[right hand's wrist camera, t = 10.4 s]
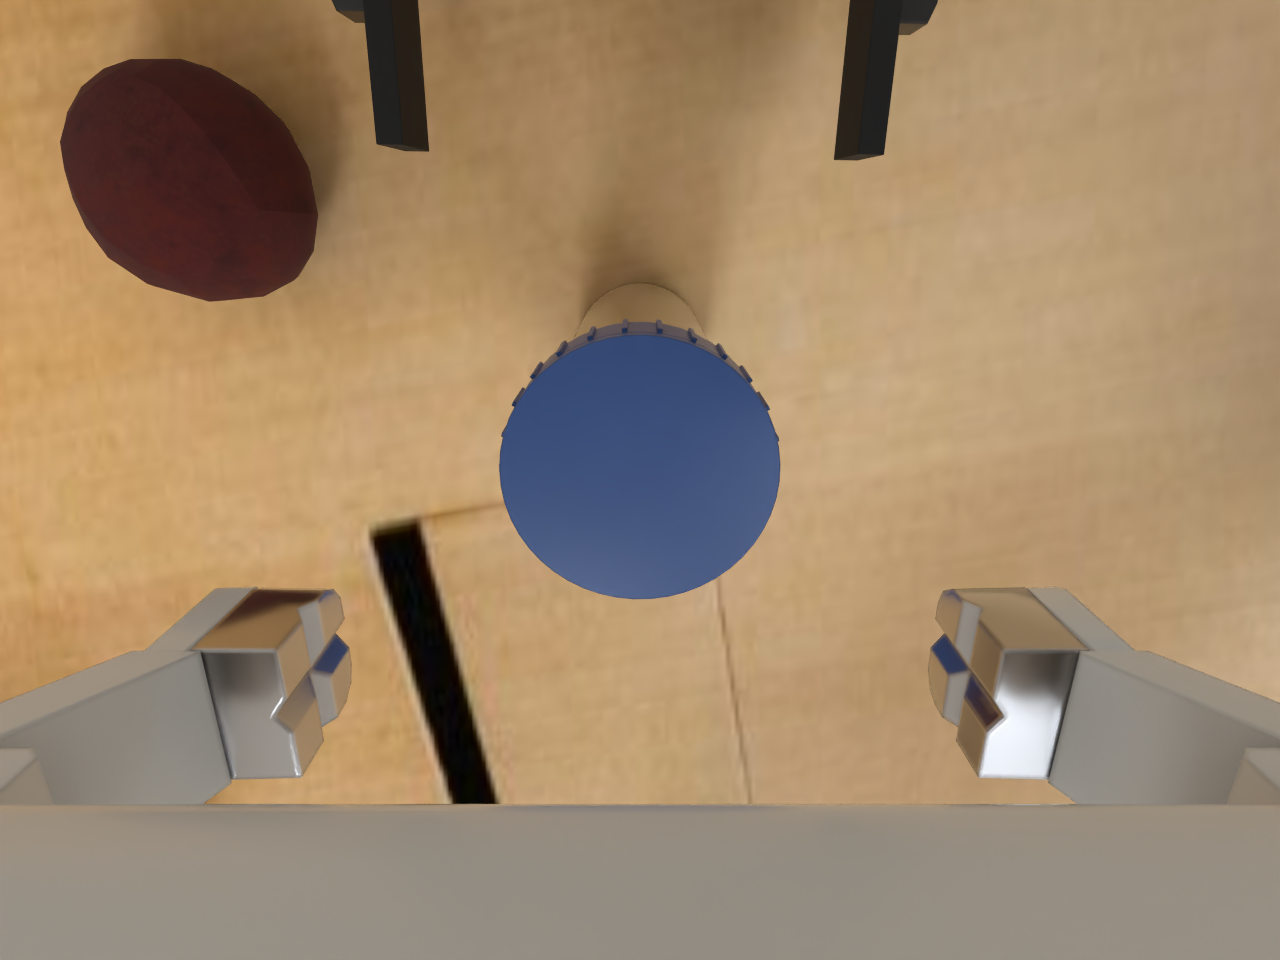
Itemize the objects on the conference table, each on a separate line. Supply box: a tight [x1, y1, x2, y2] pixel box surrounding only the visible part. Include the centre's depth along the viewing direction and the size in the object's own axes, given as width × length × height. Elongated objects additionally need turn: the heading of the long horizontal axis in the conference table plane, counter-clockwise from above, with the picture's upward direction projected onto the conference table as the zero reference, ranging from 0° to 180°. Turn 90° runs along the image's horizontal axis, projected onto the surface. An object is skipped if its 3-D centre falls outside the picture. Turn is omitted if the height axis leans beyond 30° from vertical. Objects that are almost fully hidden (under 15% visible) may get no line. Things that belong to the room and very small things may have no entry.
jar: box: [573, 283, 707, 340], centre depth 23 cm, size 5×5×15 cm
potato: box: [60, 59, 318, 302], centre depth 25 cm, size 7×8×7 cm
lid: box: [499, 319, 780, 599], centre depth 17 cm, size 6×6×2 cm
